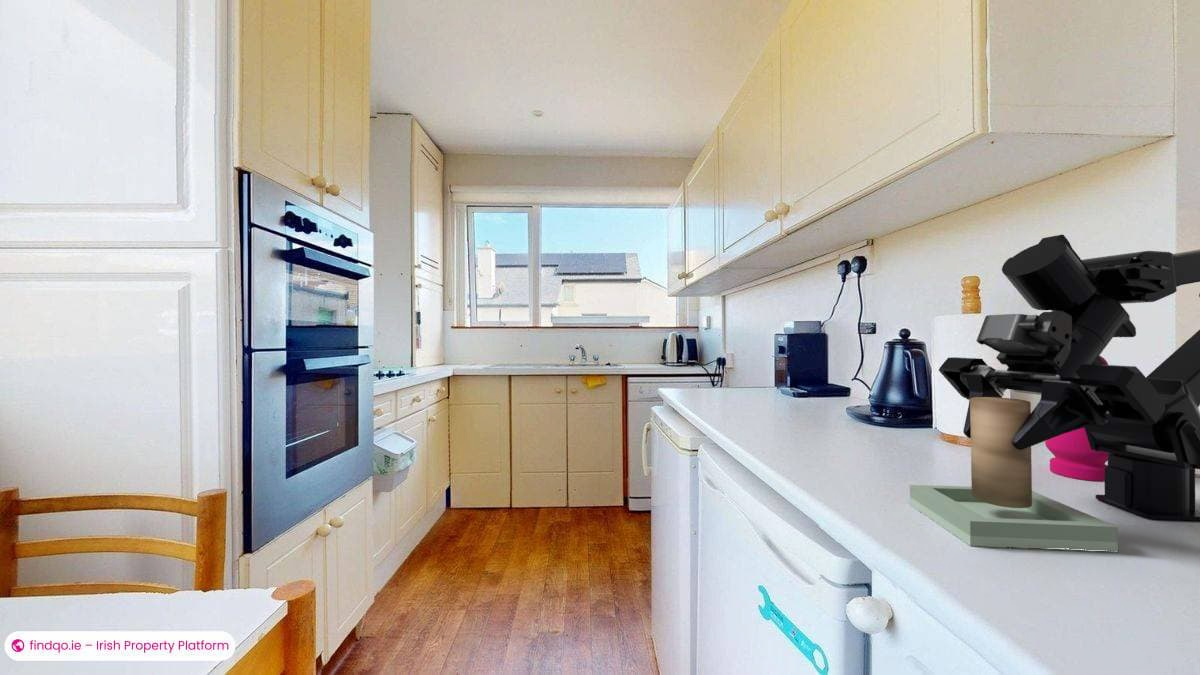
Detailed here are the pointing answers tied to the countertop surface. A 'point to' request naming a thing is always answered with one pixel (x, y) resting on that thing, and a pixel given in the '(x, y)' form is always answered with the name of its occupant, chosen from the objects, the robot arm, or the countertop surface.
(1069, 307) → the robot arm
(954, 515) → the socket board
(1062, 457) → the pepper mill
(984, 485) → the walnut leg
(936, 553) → the countertop surface
